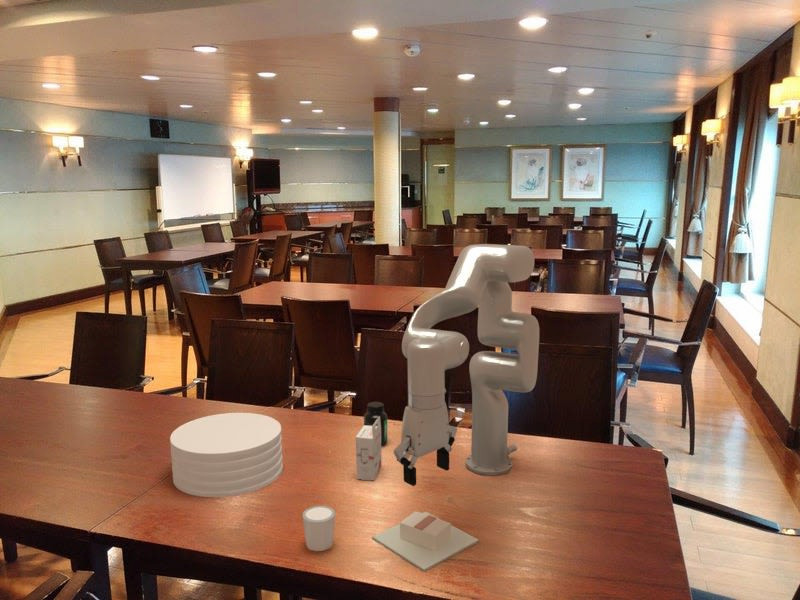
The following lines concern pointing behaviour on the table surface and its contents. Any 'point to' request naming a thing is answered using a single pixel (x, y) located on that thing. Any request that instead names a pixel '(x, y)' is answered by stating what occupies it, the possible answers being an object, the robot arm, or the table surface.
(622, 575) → the table surface
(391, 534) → the mat
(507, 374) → the robot arm
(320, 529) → the shot glass
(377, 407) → the supplement bottle
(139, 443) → the table surface
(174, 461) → the plate stack
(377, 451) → the ink cartridge box
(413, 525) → the card box
